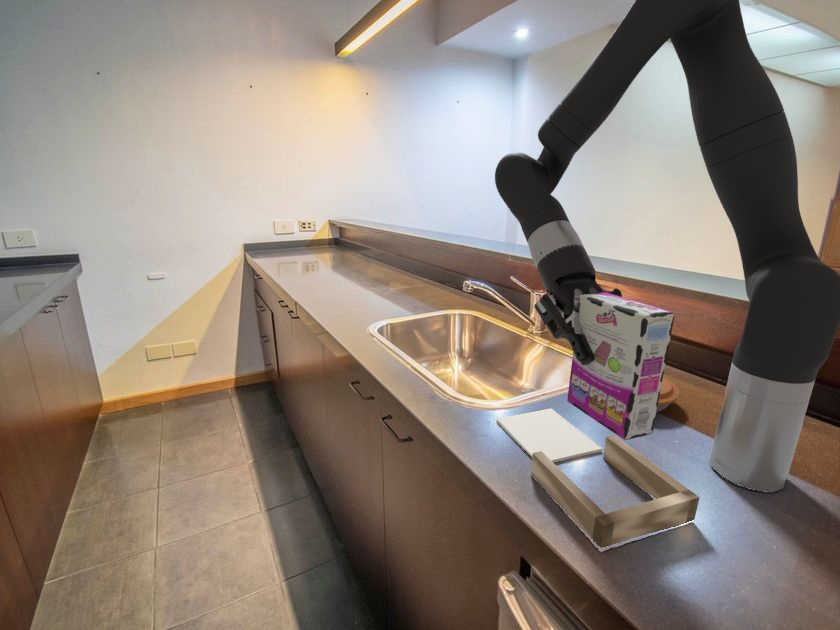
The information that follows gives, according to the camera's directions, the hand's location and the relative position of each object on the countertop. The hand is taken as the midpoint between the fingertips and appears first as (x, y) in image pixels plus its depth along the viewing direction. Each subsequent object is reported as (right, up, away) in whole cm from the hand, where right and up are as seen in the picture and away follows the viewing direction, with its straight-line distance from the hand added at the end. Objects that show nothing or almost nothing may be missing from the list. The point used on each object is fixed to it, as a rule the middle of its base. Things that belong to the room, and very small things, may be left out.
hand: (605, 359), depth 57 cm
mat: (-3, -15, +17) cm, 23 cm away
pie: (+19, -12, +30) cm, 37 cm away
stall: (+1, -20, +3) cm, 20 cm away
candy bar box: (+1, -8, +1) cm, 8 cm away
